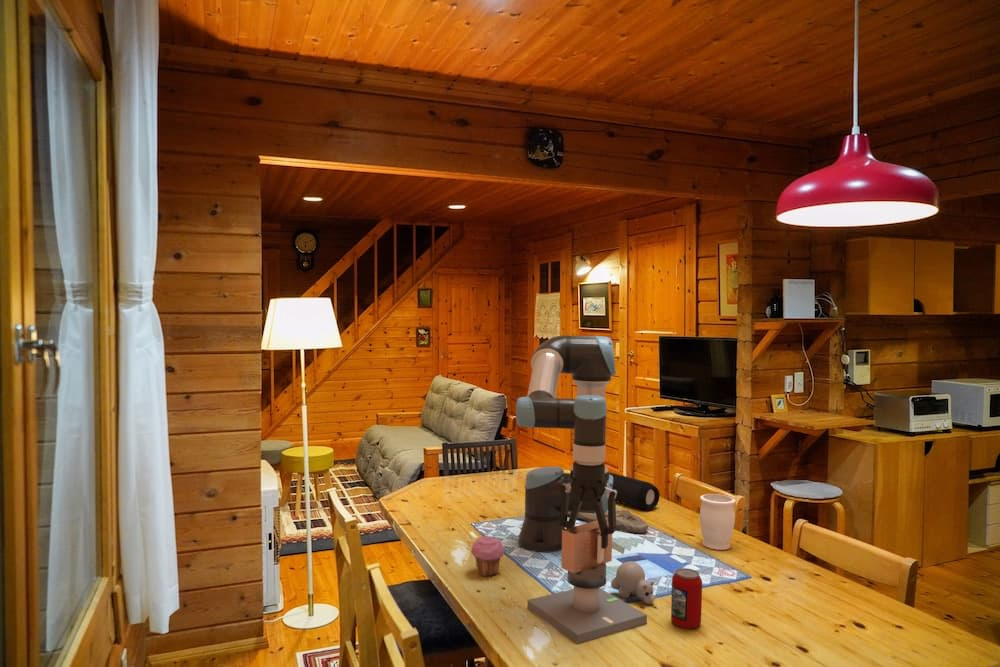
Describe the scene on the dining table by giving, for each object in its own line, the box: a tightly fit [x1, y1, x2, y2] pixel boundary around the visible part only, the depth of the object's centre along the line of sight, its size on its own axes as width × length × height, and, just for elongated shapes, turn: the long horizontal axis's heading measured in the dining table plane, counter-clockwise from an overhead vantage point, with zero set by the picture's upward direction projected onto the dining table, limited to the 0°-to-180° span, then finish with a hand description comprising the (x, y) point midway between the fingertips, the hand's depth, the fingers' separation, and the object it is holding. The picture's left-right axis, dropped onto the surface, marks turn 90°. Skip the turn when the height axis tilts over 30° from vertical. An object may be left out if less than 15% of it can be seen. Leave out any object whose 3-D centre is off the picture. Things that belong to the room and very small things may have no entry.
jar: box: [699, 493, 736, 551], centre depth 210 cm, size 11×10×15 cm
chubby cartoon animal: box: [610, 560, 656, 605], centre depth 170 cm, size 7×12×8 cm, turn 38°
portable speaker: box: [609, 471, 660, 511], centre depth 256 cm, size 26×10×10 cm, turn 39°
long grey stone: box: [568, 509, 649, 534], centre depth 233 cm, size 35×5×10 cm
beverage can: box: [670, 567, 703, 629], centre depth 157 cm, size 7×7×12 cm
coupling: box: [561, 520, 613, 589], centre depth 160 cm, size 13×9×13 cm
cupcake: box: [471, 535, 505, 577], centre depth 185 cm, size 9×9×10 cm
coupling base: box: [527, 586, 648, 644], centre depth 160 cm, size 20×20×8 cm
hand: (586, 558), depth 160 cm, fingers open, 6 cm apart
